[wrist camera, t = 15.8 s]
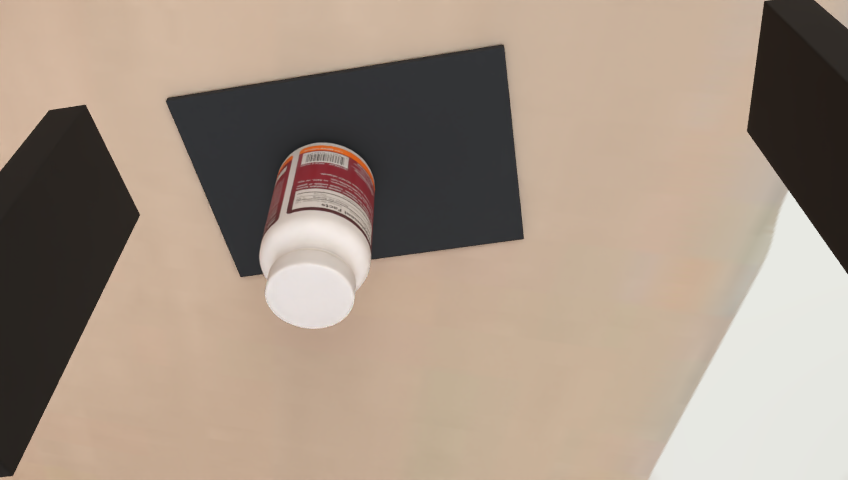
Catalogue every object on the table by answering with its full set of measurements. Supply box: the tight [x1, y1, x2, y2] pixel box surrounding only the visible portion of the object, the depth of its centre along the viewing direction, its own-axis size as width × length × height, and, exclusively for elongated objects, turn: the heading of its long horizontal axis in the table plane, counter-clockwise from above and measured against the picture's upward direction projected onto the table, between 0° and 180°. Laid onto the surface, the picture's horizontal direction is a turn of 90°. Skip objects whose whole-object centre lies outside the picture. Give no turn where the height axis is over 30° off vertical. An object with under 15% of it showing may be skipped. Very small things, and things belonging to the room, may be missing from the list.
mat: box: [166, 45, 524, 277], centre depth 47 cm, size 20×14×1 cm
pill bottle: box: [259, 143, 375, 329], centre depth 43 cm, size 6×6×11 cm
